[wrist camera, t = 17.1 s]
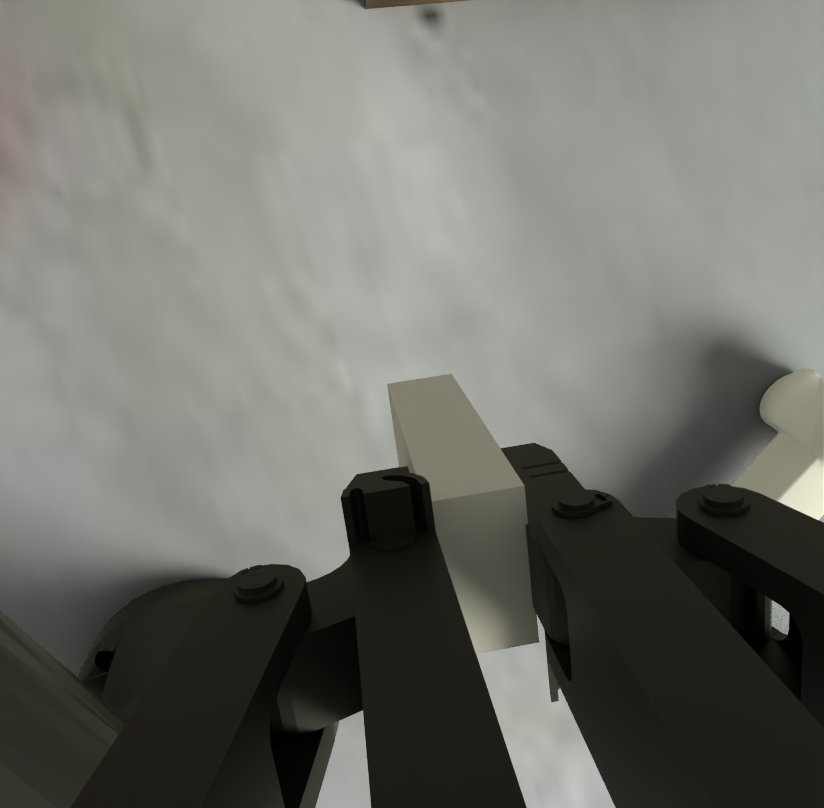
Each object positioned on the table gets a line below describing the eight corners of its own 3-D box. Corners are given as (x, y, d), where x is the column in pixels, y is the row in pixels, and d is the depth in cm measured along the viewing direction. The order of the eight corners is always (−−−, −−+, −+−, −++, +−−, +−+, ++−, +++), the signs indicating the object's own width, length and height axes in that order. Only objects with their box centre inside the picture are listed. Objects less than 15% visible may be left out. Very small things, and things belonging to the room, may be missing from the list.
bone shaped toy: (764, 344, 43) (844, 377, 35) (872, 433, 44) (972, 484, 36) (590, 540, 46) (627, 610, 38) (695, 617, 47) (753, 701, 39)
